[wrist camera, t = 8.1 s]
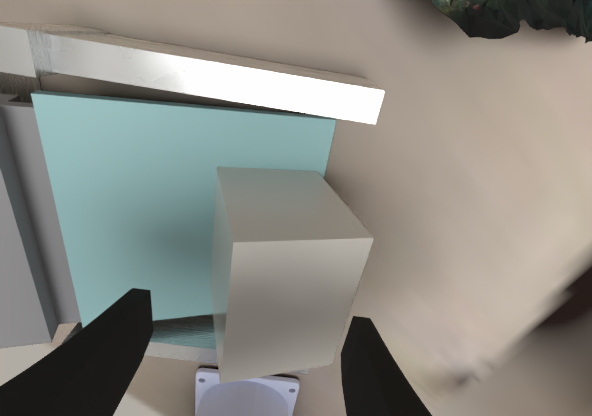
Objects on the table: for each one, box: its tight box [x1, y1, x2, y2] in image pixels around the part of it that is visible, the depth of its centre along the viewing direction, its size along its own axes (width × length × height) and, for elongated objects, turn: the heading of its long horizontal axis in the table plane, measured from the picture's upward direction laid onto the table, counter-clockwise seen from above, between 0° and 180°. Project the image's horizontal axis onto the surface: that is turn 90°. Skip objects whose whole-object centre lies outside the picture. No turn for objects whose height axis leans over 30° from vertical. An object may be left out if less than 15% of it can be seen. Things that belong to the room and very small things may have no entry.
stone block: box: [210, 167, 374, 384], centre depth 15 cm, size 7×5×6 cm
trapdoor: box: [0, 90, 336, 348], centre depth 16 cm, size 12×18×3 cm, turn 81°
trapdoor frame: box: [0, 22, 384, 374], centre depth 16 cm, size 16×17×5 cm
